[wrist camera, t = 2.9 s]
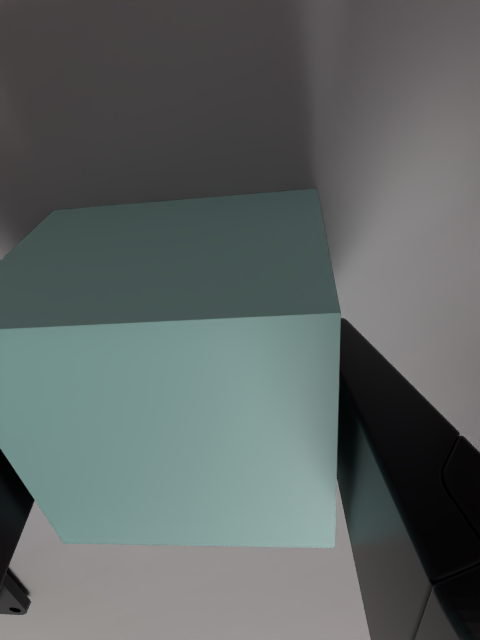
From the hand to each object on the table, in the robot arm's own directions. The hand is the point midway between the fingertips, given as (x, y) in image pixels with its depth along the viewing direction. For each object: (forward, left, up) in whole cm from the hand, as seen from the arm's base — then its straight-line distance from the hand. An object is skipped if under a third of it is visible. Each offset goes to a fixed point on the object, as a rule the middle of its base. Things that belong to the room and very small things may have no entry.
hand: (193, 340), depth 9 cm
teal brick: (0, 0, -1) cm, 1 cm away
